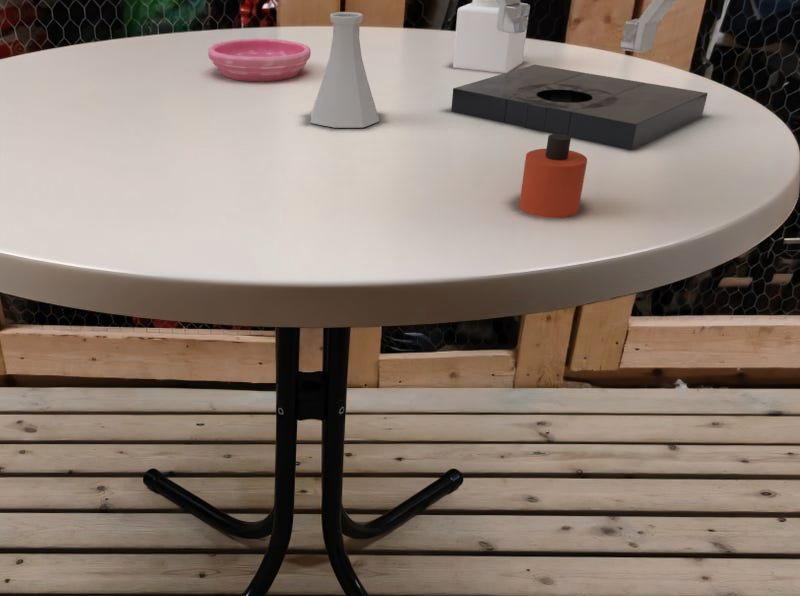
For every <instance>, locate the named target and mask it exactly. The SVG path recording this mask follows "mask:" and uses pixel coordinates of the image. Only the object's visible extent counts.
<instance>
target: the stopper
mask: <svg viewBox="0 0 800 596" xmlns="http://www.w3.org/2000/svg"><path fill="white" fill-rule="evenodd" d="M571 140H572V138H571V137H570V136H568V135H564V134H553V133H550V134H549V135H548V136H547V142H546V148H538V149H533V150H530V151H528V152H527V153H526V154H525V160H524V167H523V175H522V182H521V189H520V197H519V205H518V206H519V208H520V210H522V211H523V212H525V213H527V214H529V215H533V216H537V217H541V218H550V219H551V218H552V219H558V218H559V219H560V218H569V217H572V216H575V215H576V214H578V213H579V210H580V205H581V198H582V192H583V187H584V181H585V176H586V170H587V164H588V158H587V157H586V156H585V155H584V154H582V153H580V152H577V151H574V150H570V147H571Z"/></svg>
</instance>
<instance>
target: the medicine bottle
mask: <svg viewBox="0 0 800 596" xmlns="http://www.w3.org/2000/svg"><path fill="white" fill-rule="evenodd" d="M521 4H527V5H529V4H528V3H524V2H521ZM456 11H457V12H456V23H455V36H454V48H453V60H452V61H453V62H452V67H453V69H462V70H470V71H471V70H472V71H480V72H491V73H500V74H504V73H507V72H511V71H513V69H516V68H517V67H518V66H520V65H521V64H523V62H524V55H525V46H526V38H527V31H528V27H527V28H526V30H525V32H522V33H518V34H515V33H507V32H500V31H498V29H497V21H498V12H499V5H498V4H497V1H496V0H472V1H471V2H470V3H467V4H464V5H463V6H460V7H458V8H457V10H456ZM527 20H528V21H529V16H528V17H527Z"/></svg>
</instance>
